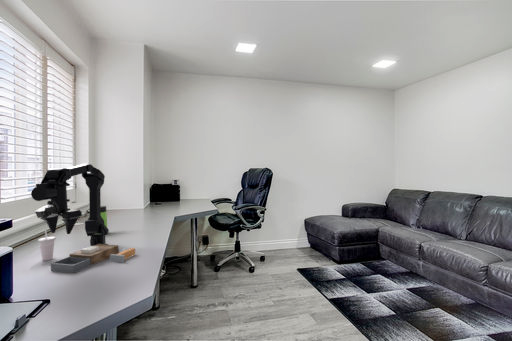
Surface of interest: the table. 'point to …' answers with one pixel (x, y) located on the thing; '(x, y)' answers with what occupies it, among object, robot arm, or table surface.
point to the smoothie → (47, 246)
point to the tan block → (98, 253)
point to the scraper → (122, 255)
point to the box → (70, 264)
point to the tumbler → (104, 214)
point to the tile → (90, 249)
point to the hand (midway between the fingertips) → (60, 233)
